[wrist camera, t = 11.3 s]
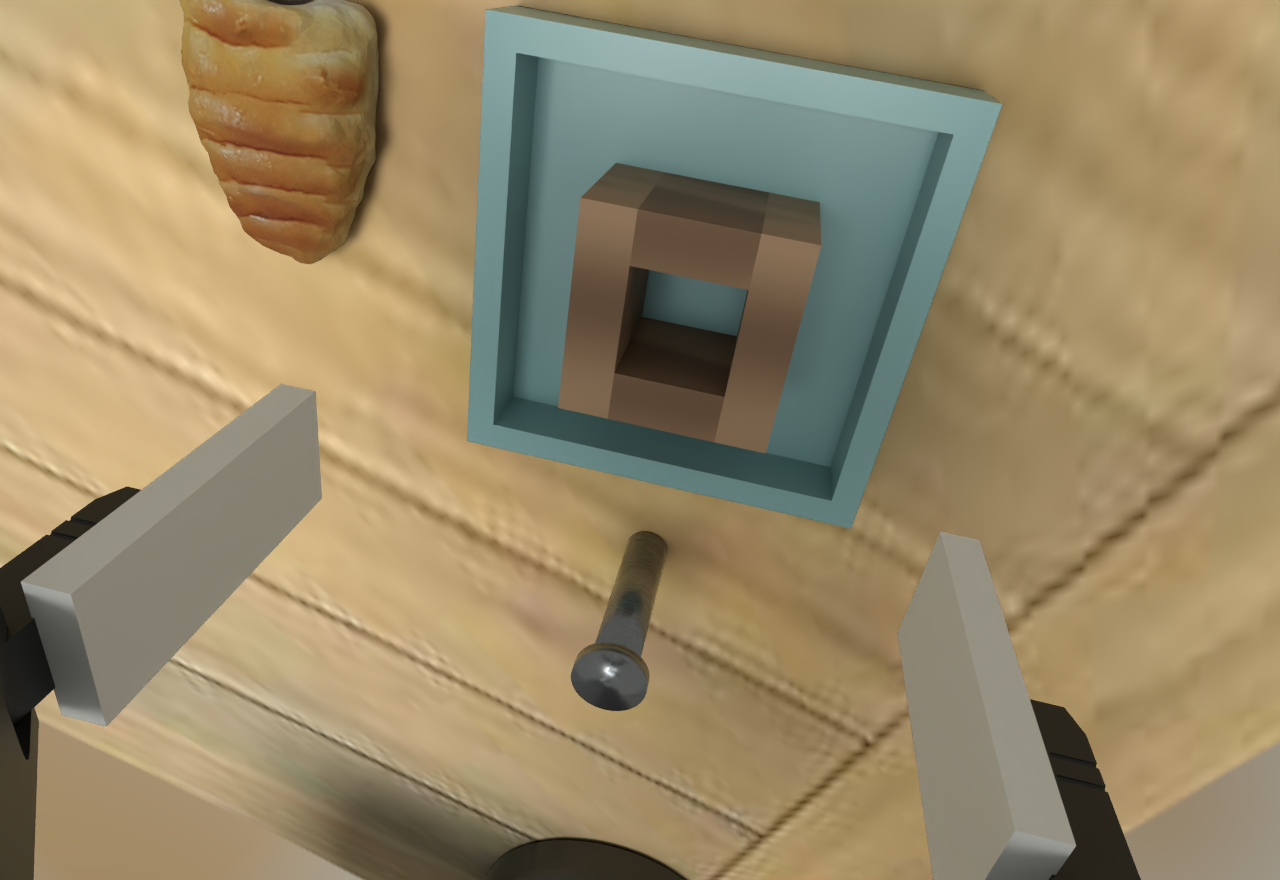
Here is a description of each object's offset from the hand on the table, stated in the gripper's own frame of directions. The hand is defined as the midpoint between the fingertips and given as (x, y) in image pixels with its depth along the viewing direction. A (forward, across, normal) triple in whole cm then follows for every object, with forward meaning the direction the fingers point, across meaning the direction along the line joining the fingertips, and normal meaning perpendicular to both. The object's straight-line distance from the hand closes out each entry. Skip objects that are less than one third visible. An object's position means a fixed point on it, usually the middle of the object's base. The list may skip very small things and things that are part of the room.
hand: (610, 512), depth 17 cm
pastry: (+16, +15, -4) cm, 22 cm away
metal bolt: (+15, 0, +12) cm, 20 cm away
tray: (+15, 0, 0) cm, 15 cm away
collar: (+14, 0, 0) cm, 14 cm away
